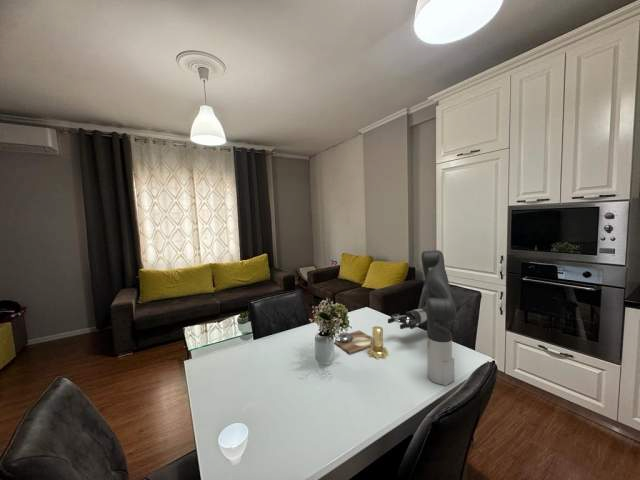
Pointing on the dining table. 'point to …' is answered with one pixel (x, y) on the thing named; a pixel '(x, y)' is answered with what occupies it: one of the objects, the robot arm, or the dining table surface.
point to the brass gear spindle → (378, 344)
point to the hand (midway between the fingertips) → (394, 324)
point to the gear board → (356, 343)
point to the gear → (345, 338)
